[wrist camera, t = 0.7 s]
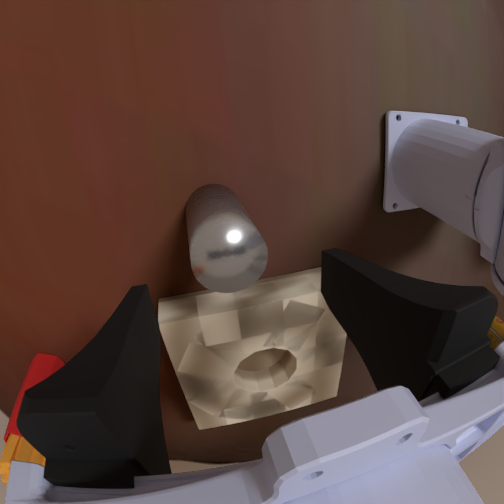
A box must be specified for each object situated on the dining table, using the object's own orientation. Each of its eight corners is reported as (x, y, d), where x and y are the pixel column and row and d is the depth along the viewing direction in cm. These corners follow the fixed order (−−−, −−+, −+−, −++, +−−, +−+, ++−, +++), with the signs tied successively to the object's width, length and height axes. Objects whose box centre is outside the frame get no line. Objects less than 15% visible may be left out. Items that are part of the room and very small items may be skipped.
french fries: (80, 407, 26) (70, 517, 15) (44, 400, 25) (26, 506, 14) (65, 345, 23) (36, 480, 12) (23, 338, 22) (-18, 463, 10)
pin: (236, 180, 20) (265, 217, 14) (242, 230, 22) (269, 285, 16) (181, 188, 20) (184, 231, 14) (190, 239, 21) (198, 299, 15)
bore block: (335, 263, 25) (353, 283, 22) (325, 375, 32) (336, 396, 29) (158, 298, 23) (157, 324, 20) (195, 406, 29) (199, 429, 27)
